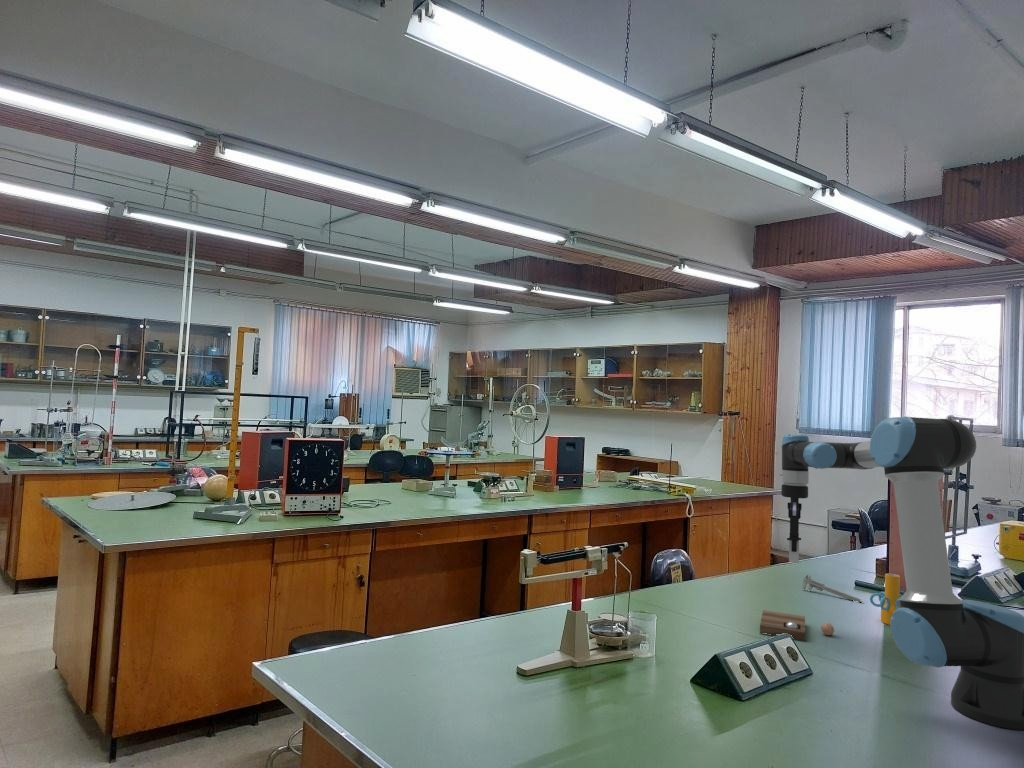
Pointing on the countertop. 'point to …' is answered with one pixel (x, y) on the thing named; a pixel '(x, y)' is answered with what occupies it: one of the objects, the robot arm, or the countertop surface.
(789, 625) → the steel ball
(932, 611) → the robot arm
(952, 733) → the countertop surface
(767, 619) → the hole plate
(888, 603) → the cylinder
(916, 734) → the countertop surface
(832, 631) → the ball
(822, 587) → the caliper
